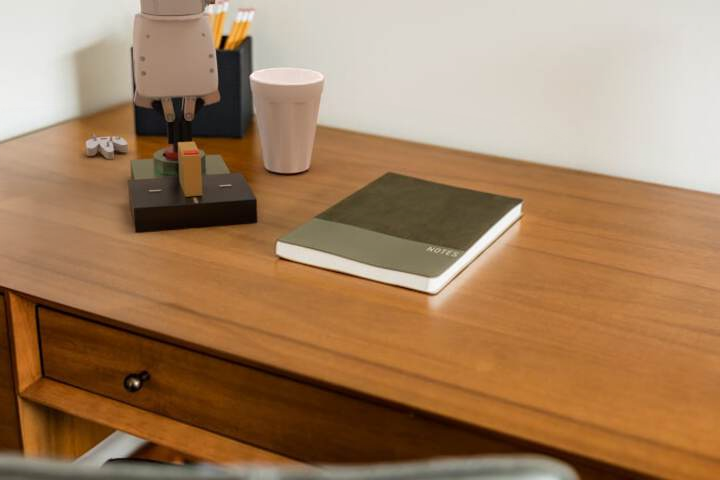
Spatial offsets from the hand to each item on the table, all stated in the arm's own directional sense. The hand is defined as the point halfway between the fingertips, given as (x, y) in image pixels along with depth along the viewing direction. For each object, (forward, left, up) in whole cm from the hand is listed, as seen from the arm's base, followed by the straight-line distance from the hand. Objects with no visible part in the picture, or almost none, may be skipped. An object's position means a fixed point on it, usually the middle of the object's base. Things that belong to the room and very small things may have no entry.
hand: (180, 148), depth 116 cm
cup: (+15, +3, -5) cm, 16 cm away
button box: (0, 0, -5) cm, 5 cm away
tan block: (0, -11, -2) cm, 11 cm away
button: (0, 0, -2) cm, 2 cm away
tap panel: (0, -11, -5) cm, 12 cm away
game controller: (-9, +18, -5) cm, 21 cm away
